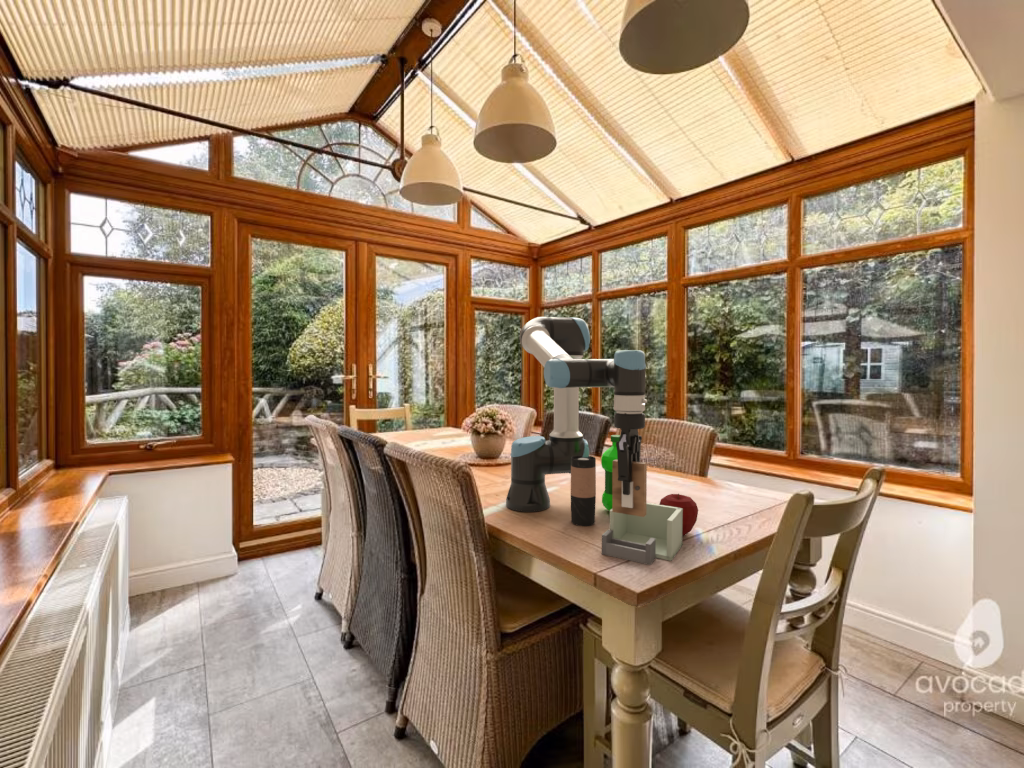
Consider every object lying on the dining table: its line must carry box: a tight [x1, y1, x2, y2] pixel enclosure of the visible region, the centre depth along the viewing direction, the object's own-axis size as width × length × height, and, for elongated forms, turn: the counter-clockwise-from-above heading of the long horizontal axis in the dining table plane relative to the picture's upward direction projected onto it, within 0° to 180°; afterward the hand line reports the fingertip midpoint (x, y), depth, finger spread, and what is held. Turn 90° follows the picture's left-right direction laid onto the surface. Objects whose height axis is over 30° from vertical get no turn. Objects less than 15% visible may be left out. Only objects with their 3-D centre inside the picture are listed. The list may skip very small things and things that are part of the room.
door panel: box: [612, 460, 648, 517], centre depth 117 cm, size 8×3×13 cm, turn 58°
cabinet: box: [601, 502, 683, 566], centre depth 123 cm, size 16×17×10 cm
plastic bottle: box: [600, 434, 621, 513], centre depth 155 cm, size 10×10×25 cm
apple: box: [658, 493, 699, 537], centre depth 134 cm, size 11×11×12 cm
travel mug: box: [570, 455, 597, 527], centre depth 144 cm, size 8×8×20 cm
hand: (629, 505), depth 118 cm, fingers closed on door panel, 2 cm apart
